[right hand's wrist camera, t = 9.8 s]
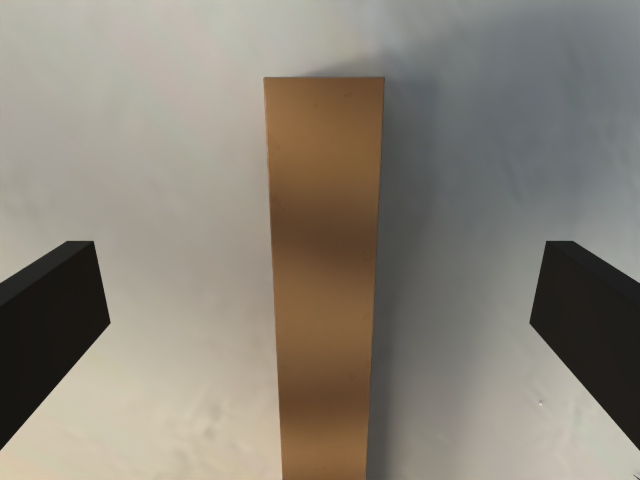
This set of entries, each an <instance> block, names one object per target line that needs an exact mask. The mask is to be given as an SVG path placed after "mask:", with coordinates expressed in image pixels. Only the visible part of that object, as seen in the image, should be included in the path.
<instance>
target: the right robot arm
mask: <svg viewBox="0 0 640 480" xmlns="http://www.w3.org/2000/svg"><path fill="white" fill-rule="evenodd" d="M110 323H111V322H110V317H109V313H108V308H107V303H106V298H105V293H104V288H103V284H102V279H101V274H100V269H99V264H98V260H97V255H96V250H95V245H94V241H66V242H65V243H63V244H62V245H60V246H58V247H57V248H55V249H54V250H52V251H51V252H49V253H47V254H46V255H44V256H43V257H41V258H39V259H38V260H36V261H35V262H33V263H32V264H30V265H28V266H27V267H25V268H24V269H22V270H20V271H19V272H17V273H16V274H14V275H13V276H11V277H9V278H8V279H6V280H5V281H3V282H2V283H0V450H1V449H2V448H3V447H4V446H5V445H6V443H7V442H8V441H9V440H10V439H11V438H12V437H13V435H14V434H15V433H16V432H17V431H18V430H19V428H20V427H21V426H22V425H23V424H24V423H25V421H26V420H27V419H28V418H29V417H30V416H31V415H32V413H33V412H34V411H35V410H36V409H37V408H38V406H39V405H40V404H41V403H42V402H43V401H44V400H45V398H46V397H47V396H48V395H49V394H50V393H51V391H52V390H53V389H54V388H55V387H56V386H57V385H58V383H59V382H60V381H61V380H62V379H63V378H64V376H65V375H66V374H67V373H68V372H69V371H70V369H71V368H72V367H73V366H74V365H75V364H76V363H77V361H78V360H79V359H80V358H81V357H82V356H83V354H84V353H85V352H86V351H87V350H88V349H89V348H90V346H91V345H92V344H93V343H94V342H95V341H96V339H97V338H98V337H99V336H100V335H101V334H102V332H103V331H104V330H105V329H106V328H107V327H108V326H109V324H110ZM529 323H530V324H531V326H532V327H533V328H534V329H535V330H536V331H537V332H538V334H539V335H540V336H541V337H542V338H543V339H544V341H545V342H546V343H547V344H548V345H549V346H550V348H551V349H552V350H553V351H554V352H555V353H556V354H557V356H558V357H559V358H560V359H561V360H562V361H563V363H564V364H565V365H566V366H567V367H568V368H569V369H570V371H571V372H572V373H573V374H574V375H575V376H576V378H577V379H578V380H579V381H580V382H581V383H582V385H583V386H584V387H585V388H586V389H587V390H588V391H589V393H590V394H591V395H592V396H593V397H594V398H595V400H596V401H597V402H598V403H599V404H600V405H601V406H602V408H603V409H604V410H605V411H606V412H607V413H608V415H609V416H610V417H611V418H612V419H613V420H614V421H615V423H616V424H617V425H618V426H619V427H620V428H621V430H622V431H623V432H624V433H625V434H626V435H627V437H628V438H629V439H630V440H631V441H632V442H633V443H634V445H635V446H636V447H637V448H638V449H639V450H640V283H638V282H637V281H635V280H634V279H632V278H631V277H629V276H627V275H626V274H624V273H623V272H621V271H620V270H618V269H616V268H615V267H613V266H612V265H610V264H608V263H607V262H605V261H604V260H602V259H601V258H599V257H597V256H596V255H594V254H593V253H591V252H589V251H588V250H586V249H585V248H583V247H582V246H580V245H578V244H577V243H575V242H574V241H546V245H545V250H544V255H543V260H542V264H541V269H540V274H539V279H538V284H537V288H536V293H535V298H534V303H533V308H532V313H531V317H530V322H529Z"/></svg>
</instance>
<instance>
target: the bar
mask: <svg viewBox="0 0 640 480" xmlns="http://www.w3.org/2000/svg"><path fill="white" fill-rule="evenodd" d="M384 82H385V78H384V77H264V98H265V119H266V140H267V161H268V182H269V203H270V224H271V245H272V266H273V287H274V308H275V329H276V350H277V371H278V392H279V413H280V435H281V456H282V477H283V480H366V463H367V442H368V420H369V399H370V378H371V357H372V336H373V315H374V293H375V272H376V251H377V230H378V209H379V188H380V166H381V145H382V124H383V103H384Z"/></svg>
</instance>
